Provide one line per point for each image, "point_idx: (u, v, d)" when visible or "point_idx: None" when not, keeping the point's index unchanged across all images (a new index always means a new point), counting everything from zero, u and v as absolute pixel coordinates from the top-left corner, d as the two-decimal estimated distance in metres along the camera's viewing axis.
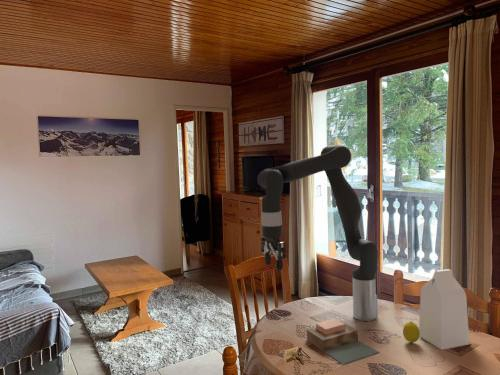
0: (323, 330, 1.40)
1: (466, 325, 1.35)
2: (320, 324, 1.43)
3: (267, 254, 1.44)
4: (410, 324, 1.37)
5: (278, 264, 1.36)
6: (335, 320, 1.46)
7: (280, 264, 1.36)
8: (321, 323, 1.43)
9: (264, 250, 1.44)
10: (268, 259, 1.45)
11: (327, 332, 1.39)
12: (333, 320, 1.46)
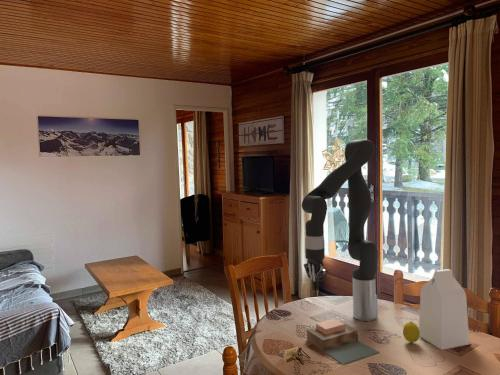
0: (323, 330, 1.40)
1: (466, 325, 1.35)
2: (320, 324, 1.43)
3: None
4: (410, 324, 1.37)
5: (315, 285, 1.49)
6: (335, 320, 1.46)
7: (317, 285, 1.49)
8: (321, 323, 1.43)
9: (311, 276, 1.50)
10: None
11: (327, 332, 1.39)
12: (333, 320, 1.46)
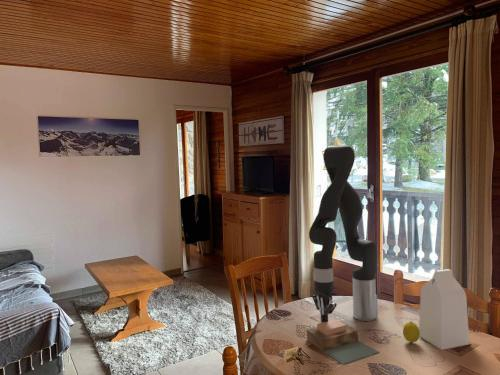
0: (324, 331, 1.39)
1: (466, 325, 1.35)
2: (321, 325, 1.42)
3: None
4: (410, 324, 1.37)
5: (324, 318, 1.45)
6: (336, 321, 1.45)
7: (326, 318, 1.45)
8: (322, 324, 1.43)
9: (320, 308, 1.46)
10: None
11: (328, 333, 1.38)
12: (334, 321, 1.45)
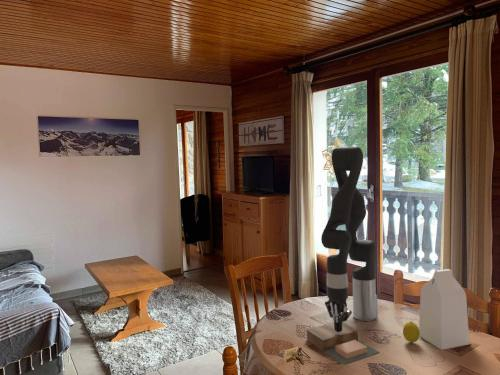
0: (338, 350, 1.32)
1: (466, 325, 1.35)
2: None
3: None
4: (410, 324, 1.37)
5: (338, 326, 1.37)
6: None
7: (340, 326, 1.37)
8: None
9: (334, 316, 1.38)
10: None
11: None
12: None
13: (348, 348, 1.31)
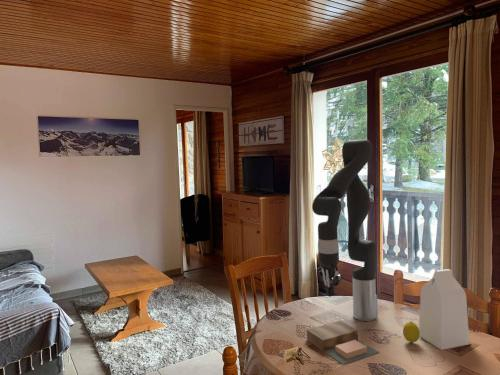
0: (338, 350, 1.32)
1: (466, 325, 1.35)
2: None
3: None
4: (410, 324, 1.37)
5: (330, 291, 1.41)
6: None
7: (332, 291, 1.41)
8: None
9: (326, 281, 1.42)
10: None
11: None
12: None
13: (348, 348, 1.31)
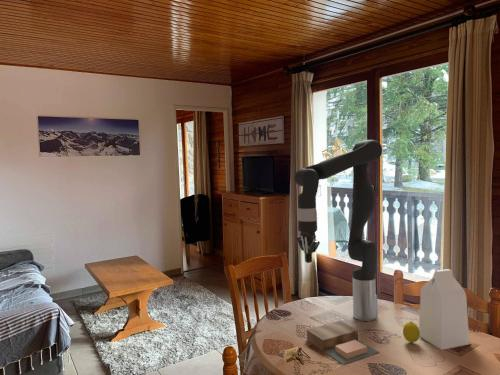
0: (338, 350, 1.32)
1: (466, 325, 1.35)
2: None
3: None
4: (410, 324, 1.37)
5: (308, 257, 1.50)
6: None
7: (310, 257, 1.50)
8: None
9: (304, 248, 1.51)
10: None
11: None
12: None
13: (348, 348, 1.31)
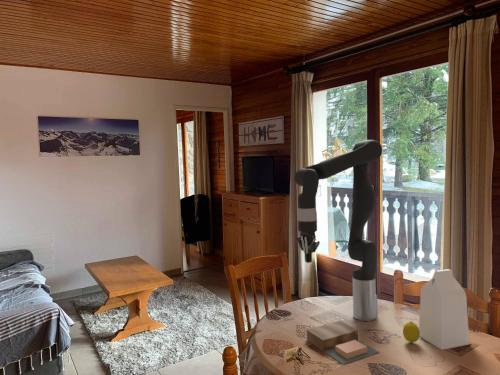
0: (338, 350, 1.32)
1: (466, 325, 1.35)
2: None
3: None
4: (410, 324, 1.37)
5: (308, 257, 1.50)
6: None
7: (310, 257, 1.50)
8: None
9: (304, 248, 1.51)
10: None
11: None
12: None
13: (348, 348, 1.31)
